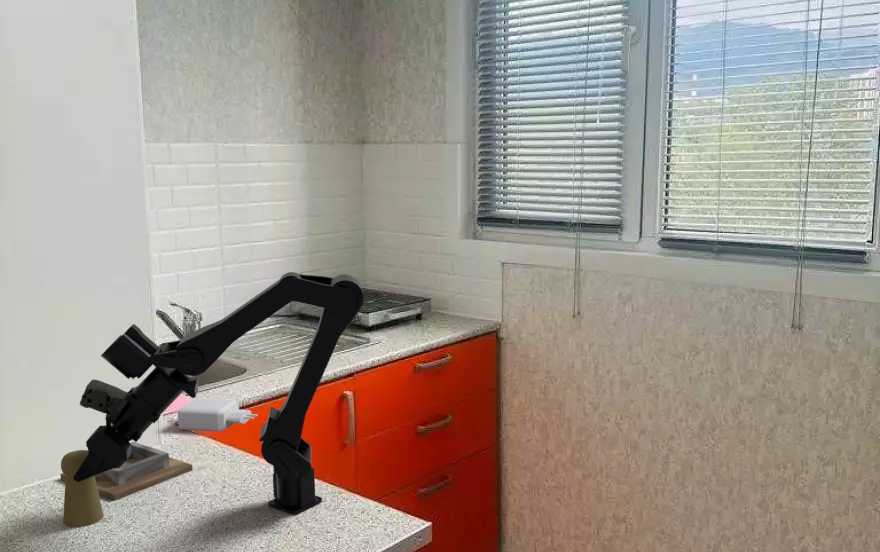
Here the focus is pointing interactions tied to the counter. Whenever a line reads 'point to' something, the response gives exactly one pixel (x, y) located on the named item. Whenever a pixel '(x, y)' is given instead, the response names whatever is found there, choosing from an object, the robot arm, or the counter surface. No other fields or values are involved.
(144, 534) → the counter surface
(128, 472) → the socket base
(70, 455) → the cork
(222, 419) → the charger
